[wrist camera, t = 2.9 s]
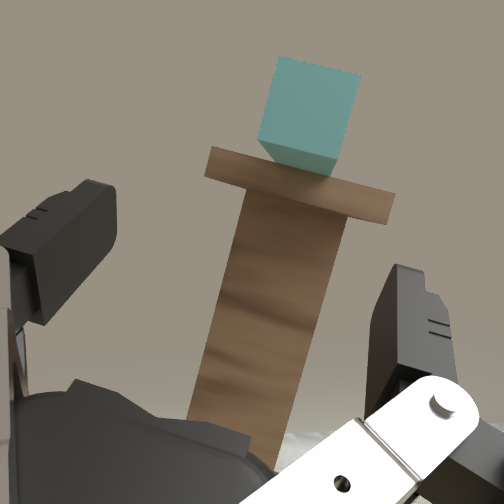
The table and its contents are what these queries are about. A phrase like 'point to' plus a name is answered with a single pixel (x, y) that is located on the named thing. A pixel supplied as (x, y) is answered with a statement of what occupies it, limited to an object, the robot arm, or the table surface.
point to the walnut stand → (272, 292)
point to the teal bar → (307, 114)
